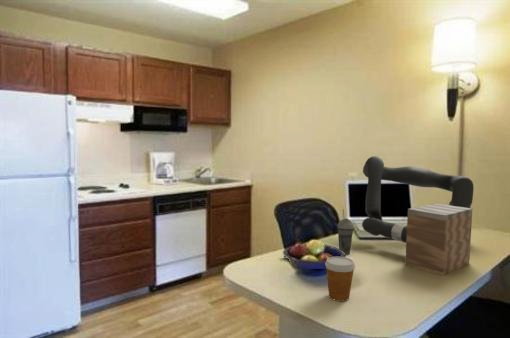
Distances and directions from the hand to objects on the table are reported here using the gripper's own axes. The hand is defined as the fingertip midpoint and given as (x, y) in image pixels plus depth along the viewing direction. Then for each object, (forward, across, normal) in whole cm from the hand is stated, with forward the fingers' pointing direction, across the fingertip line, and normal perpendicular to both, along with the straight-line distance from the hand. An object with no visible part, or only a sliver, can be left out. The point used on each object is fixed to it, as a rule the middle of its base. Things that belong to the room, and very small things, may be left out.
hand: (442, 242), depth 150 cm
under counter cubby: (-1, 0, +10) cm, 10 cm away
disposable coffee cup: (-5, -58, +10) cm, 59 cm away
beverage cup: (-33, -20, +10) cm, 40 cm away
